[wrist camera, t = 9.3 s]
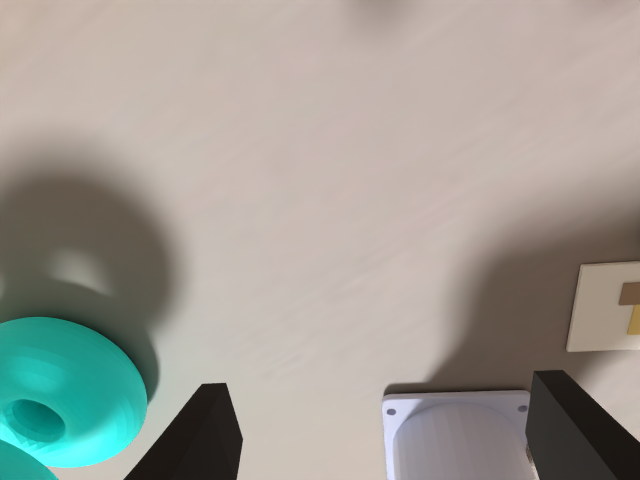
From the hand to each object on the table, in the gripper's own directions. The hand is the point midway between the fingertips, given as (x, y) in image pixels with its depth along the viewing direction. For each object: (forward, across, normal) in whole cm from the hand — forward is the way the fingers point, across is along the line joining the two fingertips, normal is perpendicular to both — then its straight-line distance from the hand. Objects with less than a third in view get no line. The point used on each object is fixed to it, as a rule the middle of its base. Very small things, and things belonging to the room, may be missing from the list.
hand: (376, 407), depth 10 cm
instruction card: (+10, -13, +6) cm, 18 cm away
